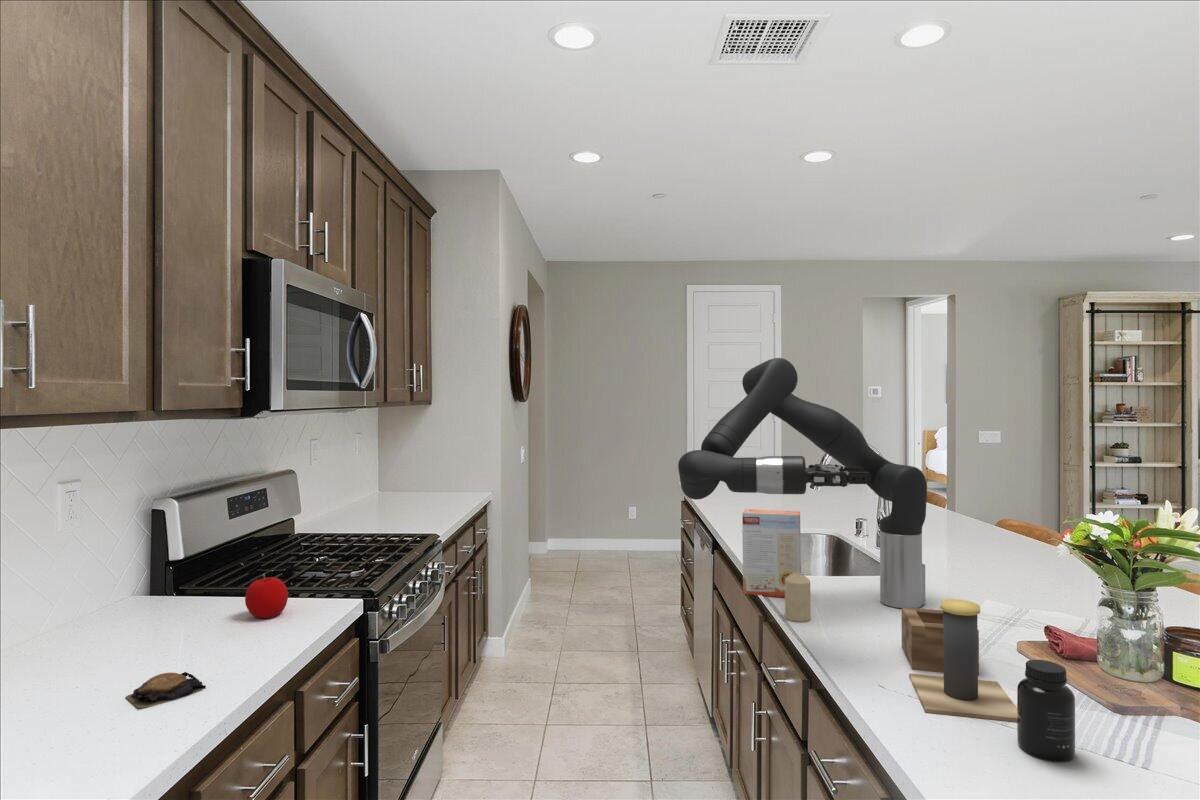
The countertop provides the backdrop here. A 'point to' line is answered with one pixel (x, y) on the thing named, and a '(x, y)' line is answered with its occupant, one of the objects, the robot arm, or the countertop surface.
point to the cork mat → (985, 706)
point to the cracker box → (770, 550)
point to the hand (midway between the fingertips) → (867, 475)
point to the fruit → (266, 597)
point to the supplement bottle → (1046, 712)
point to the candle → (797, 598)
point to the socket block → (924, 638)
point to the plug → (960, 648)
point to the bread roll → (164, 689)
